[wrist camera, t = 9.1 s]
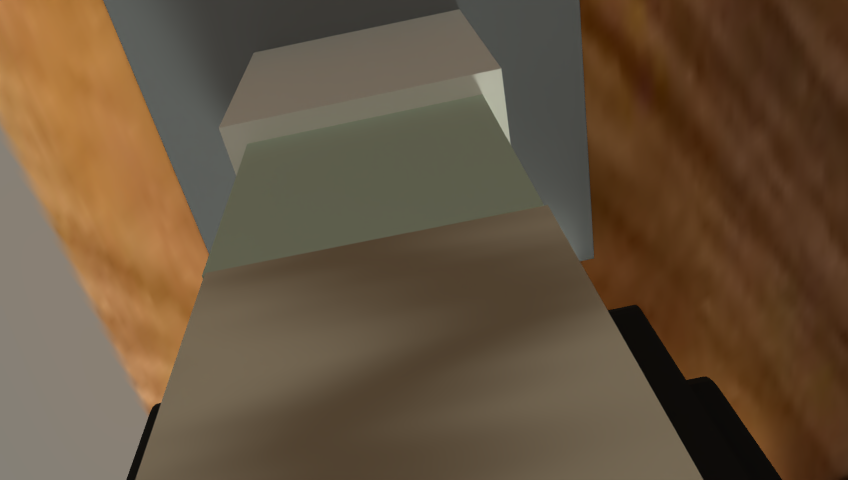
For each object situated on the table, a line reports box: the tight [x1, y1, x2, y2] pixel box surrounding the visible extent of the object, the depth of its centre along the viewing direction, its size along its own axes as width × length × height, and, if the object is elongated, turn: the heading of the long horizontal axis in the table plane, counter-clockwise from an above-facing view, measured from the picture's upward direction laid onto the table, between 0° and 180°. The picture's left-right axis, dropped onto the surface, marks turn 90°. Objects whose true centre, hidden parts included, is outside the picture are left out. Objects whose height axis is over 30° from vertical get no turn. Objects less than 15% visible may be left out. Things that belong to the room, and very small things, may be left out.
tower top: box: [202, 94, 544, 278], centre depth 14 cm, size 6×6×6 cm
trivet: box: [103, 0, 594, 261], centre depth 23 cm, size 14×14×1 cm
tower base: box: [219, 9, 511, 175], centre depth 19 cm, size 6×6×6 cm
